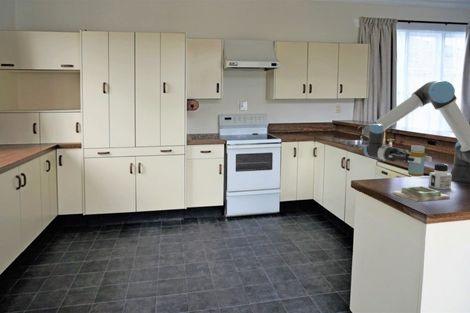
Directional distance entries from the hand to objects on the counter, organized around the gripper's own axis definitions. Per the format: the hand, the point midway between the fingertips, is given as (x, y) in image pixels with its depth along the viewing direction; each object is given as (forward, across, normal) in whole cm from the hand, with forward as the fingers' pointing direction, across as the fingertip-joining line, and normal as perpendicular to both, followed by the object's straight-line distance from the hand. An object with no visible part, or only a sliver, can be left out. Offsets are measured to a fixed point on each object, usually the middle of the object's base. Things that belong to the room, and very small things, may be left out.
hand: (425, 160), depth 185 cm
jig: (0, +1, -18) cm, 18 cm away
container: (-8, -24, -18) cm, 31 cm away
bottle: (-5, 0, -9) cm, 10 cm away
